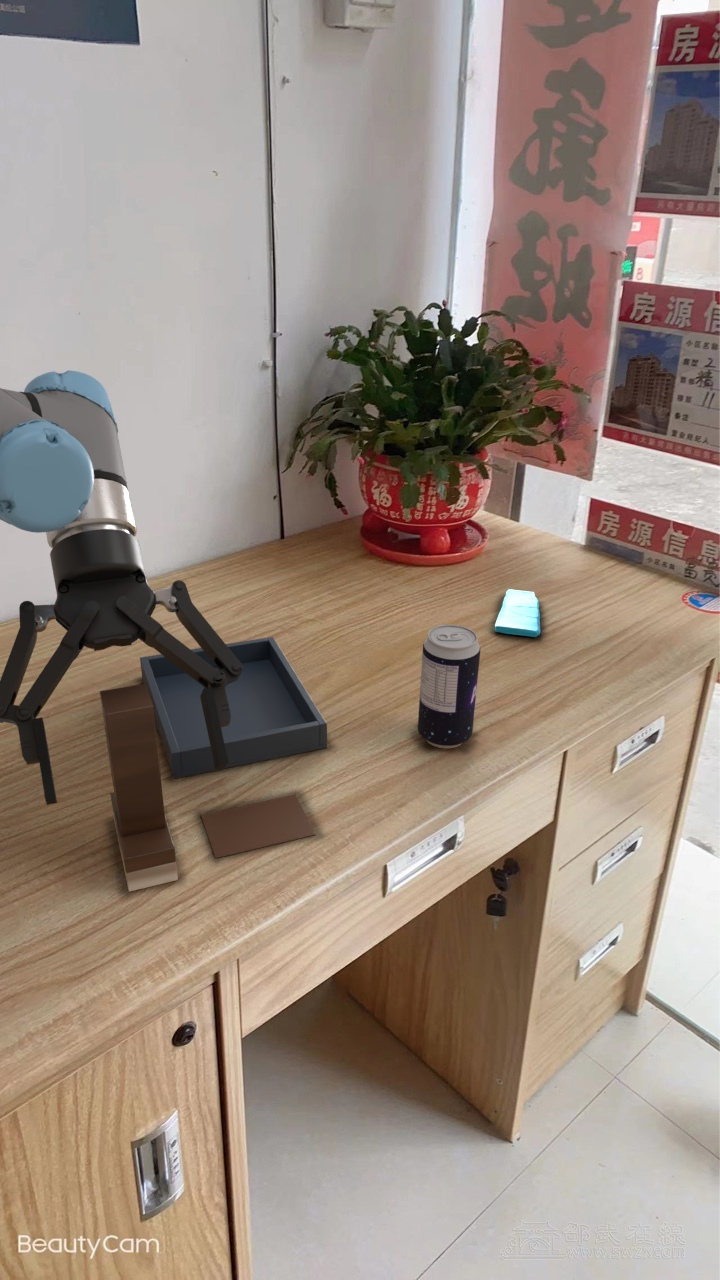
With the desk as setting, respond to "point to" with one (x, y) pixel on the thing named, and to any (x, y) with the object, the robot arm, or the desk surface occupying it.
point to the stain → (256, 825)
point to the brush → (137, 788)
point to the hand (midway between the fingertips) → (139, 783)
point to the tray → (234, 710)
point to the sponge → (519, 614)
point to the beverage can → (448, 685)
